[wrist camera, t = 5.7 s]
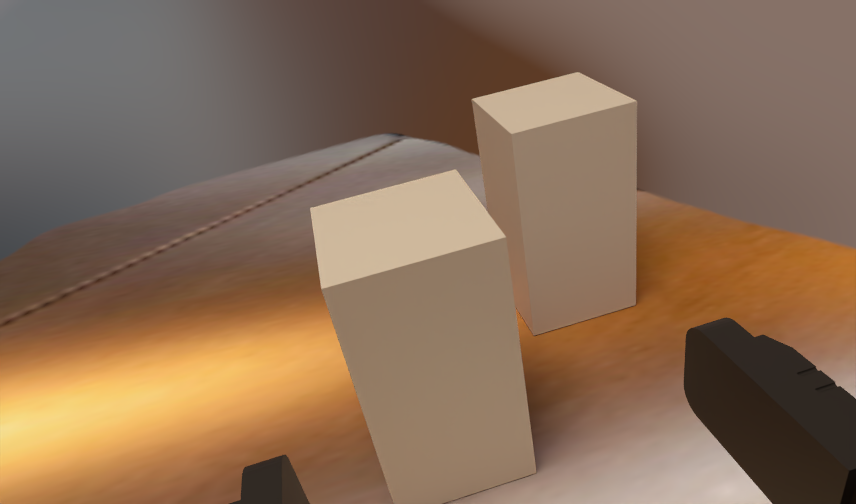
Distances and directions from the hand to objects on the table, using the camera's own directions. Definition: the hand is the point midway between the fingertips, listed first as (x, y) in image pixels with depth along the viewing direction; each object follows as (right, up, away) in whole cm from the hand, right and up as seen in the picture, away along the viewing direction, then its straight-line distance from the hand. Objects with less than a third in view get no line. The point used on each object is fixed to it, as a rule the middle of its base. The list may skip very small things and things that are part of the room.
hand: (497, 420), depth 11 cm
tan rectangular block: (0, -6, +16) cm, 17 cm away
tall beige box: (+7, +1, +25) cm, 26 cm away
